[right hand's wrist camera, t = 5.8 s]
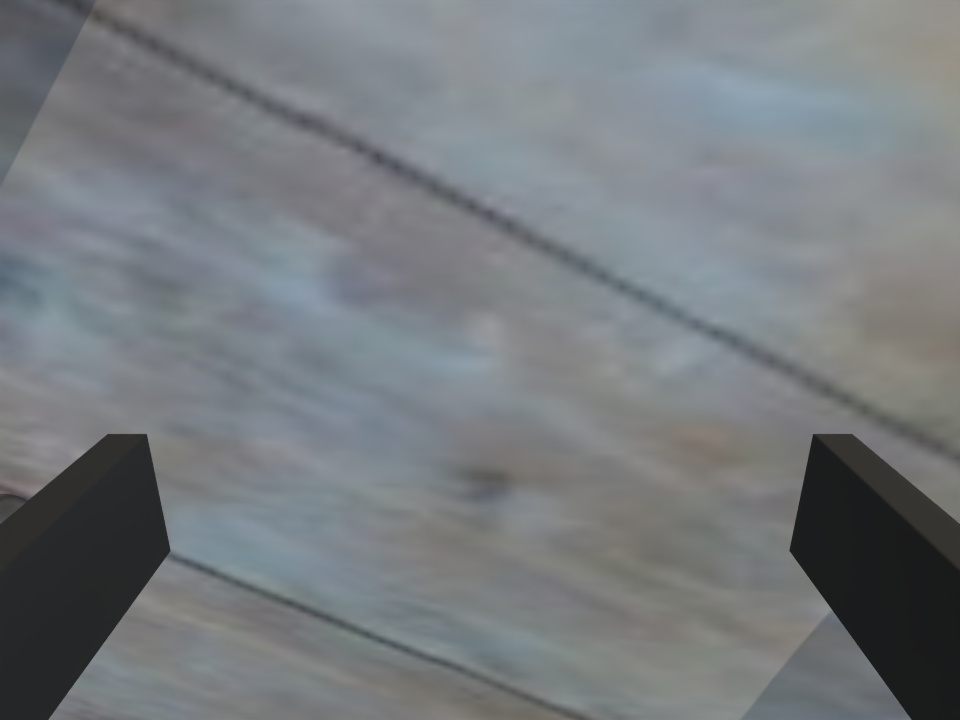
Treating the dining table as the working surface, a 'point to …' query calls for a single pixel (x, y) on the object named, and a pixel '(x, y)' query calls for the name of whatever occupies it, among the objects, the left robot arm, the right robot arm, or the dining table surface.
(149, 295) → the dining table surface
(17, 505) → the bottle
